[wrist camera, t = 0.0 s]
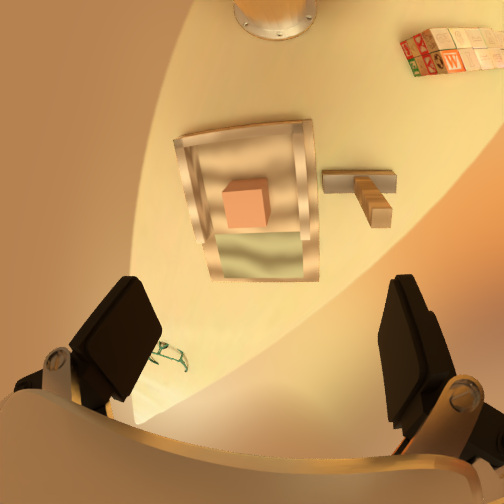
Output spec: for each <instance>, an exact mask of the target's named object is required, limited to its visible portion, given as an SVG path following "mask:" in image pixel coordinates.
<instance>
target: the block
mask: <svg viewBox="0 0 504 504" xmlns="http://www.w3.org/2000/svg"><path fill="white" fill-rule="evenodd" d="M222 198H223V203H224V208H225V214H226V219H227V224H228V229H230V228H252V227H266V226H267V223H268V220H269V217H270V213H271V207H270V198H269V190H268V182H267V178H258V179H245V180H234V181H231V182H230V183H229V184H228V185H227V187H226V188H225V189H224V190H223V191H222Z"/></svg>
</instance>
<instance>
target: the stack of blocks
mask: <svg viewBox="0 0 504 504" xmlns="http://www.w3.org/2000/svg"><path fill="white" fill-rule="evenodd" d="M400 44H401V46H402V49H403V51H404V53H405V55H406V57H407V59H408V62H409V64H410V66H411V69H412V71H413V74H414V76H415V77H416V76H425V75H436V74H449V73H456V72H465V71H473V70H486V69H494V68H504V32H503V31H493V30H492V28H463V27H458V28H431V29H428V30H426V31H424V32H422V33H419V34H417V35H415V36H413V37H412V38H410V39H408V40H405V41H404V42H401V43H400Z"/></svg>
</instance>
